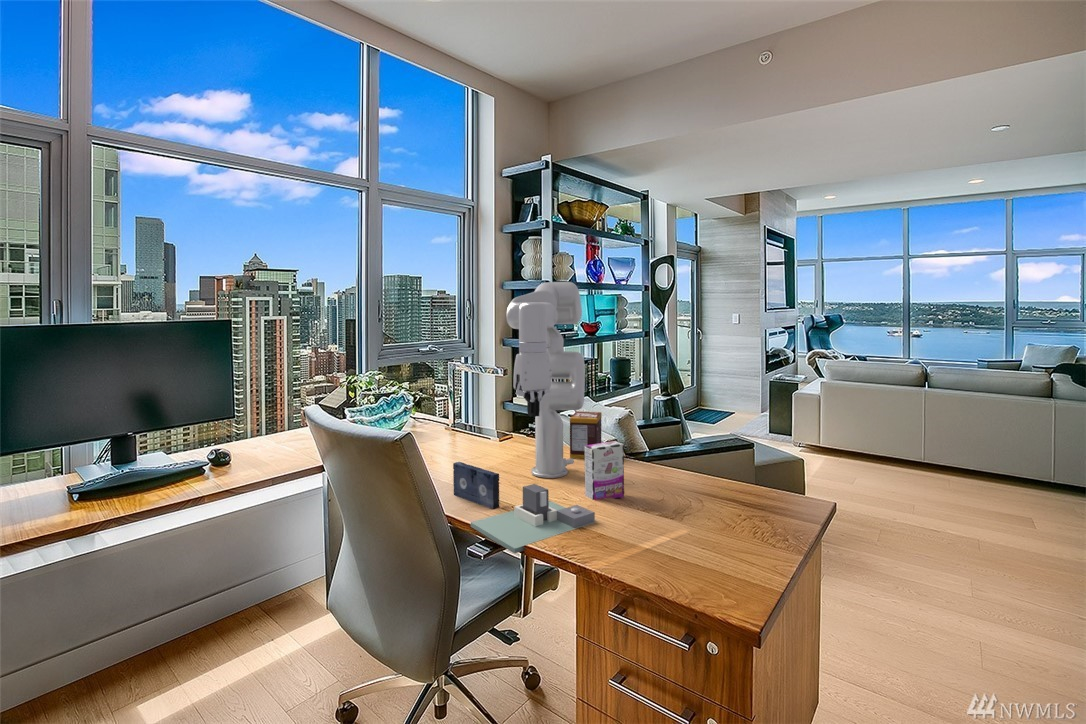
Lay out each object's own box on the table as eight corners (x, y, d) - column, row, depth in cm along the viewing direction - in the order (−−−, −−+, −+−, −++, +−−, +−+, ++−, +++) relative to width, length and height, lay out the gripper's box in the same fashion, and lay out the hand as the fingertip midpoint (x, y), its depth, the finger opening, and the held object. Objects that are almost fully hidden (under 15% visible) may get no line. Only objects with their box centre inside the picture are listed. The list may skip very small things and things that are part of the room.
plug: (535, 512, 146) (534, 483, 145) (550, 520, 141) (550, 490, 140) (522, 516, 144) (522, 486, 143) (537, 523, 138) (537, 493, 138)
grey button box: (576, 513, 145) (576, 502, 145) (594, 521, 140) (594, 510, 139) (556, 519, 141) (556, 508, 141) (574, 528, 135) (574, 516, 135)
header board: (549, 504, 155) (549, 492, 155) (597, 525, 140) (597, 512, 139) (470, 526, 140) (470, 512, 139) (514, 553, 124) (514, 538, 124)
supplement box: (601, 449, 217) (601, 411, 216) (596, 459, 202) (596, 418, 201) (576, 448, 220) (576, 410, 218) (569, 458, 205) (569, 417, 203)
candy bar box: (614, 492, 165) (615, 440, 164) (624, 497, 161) (625, 443, 159) (583, 498, 160) (583, 444, 159) (592, 504, 156) (593, 448, 154)
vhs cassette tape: (500, 507, 154) (499, 473, 153) (492, 510, 151) (491, 475, 151) (461, 492, 166) (460, 461, 166) (453, 495, 164) (452, 463, 163)
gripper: (546, 346, 153) (546, 410, 155) (502, 349, 144) (502, 417, 146) (563, 348, 147) (563, 414, 149) (518, 350, 138) (519, 421, 140)
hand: (533, 415), depth 147 cm, fingers closed
